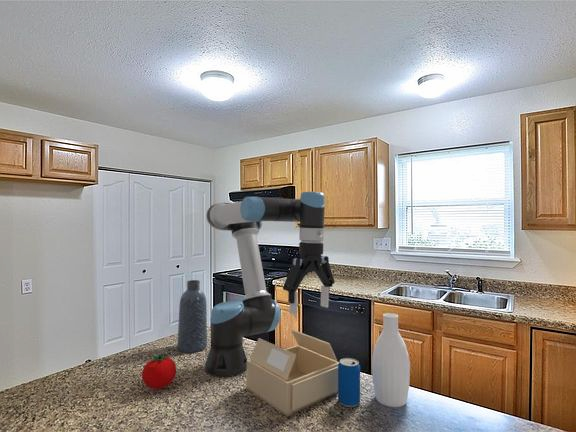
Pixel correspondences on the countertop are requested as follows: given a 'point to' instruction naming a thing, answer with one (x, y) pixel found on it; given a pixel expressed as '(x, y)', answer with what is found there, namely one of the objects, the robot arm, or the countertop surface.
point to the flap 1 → (273, 358)
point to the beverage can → (349, 382)
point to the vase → (192, 319)
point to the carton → (295, 381)
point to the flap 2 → (314, 344)
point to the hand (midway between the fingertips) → (309, 310)
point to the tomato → (159, 372)
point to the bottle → (390, 365)
